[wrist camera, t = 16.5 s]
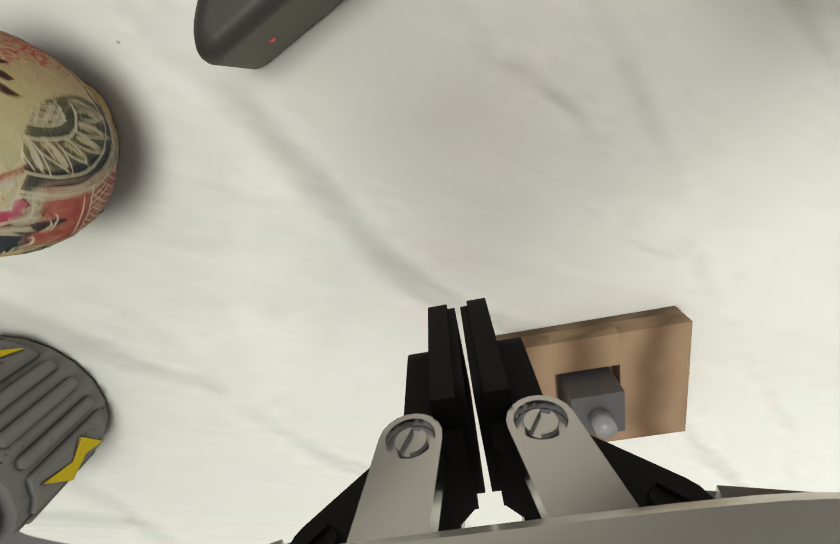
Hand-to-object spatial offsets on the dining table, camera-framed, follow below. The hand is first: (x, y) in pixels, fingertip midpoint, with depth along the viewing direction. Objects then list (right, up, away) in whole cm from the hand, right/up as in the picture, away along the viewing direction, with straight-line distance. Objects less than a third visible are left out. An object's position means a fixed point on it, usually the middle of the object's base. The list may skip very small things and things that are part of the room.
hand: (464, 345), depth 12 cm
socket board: (+16, -9, +34) cm, 38 cm away
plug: (+16, -10, +33) cm, 38 cm away
